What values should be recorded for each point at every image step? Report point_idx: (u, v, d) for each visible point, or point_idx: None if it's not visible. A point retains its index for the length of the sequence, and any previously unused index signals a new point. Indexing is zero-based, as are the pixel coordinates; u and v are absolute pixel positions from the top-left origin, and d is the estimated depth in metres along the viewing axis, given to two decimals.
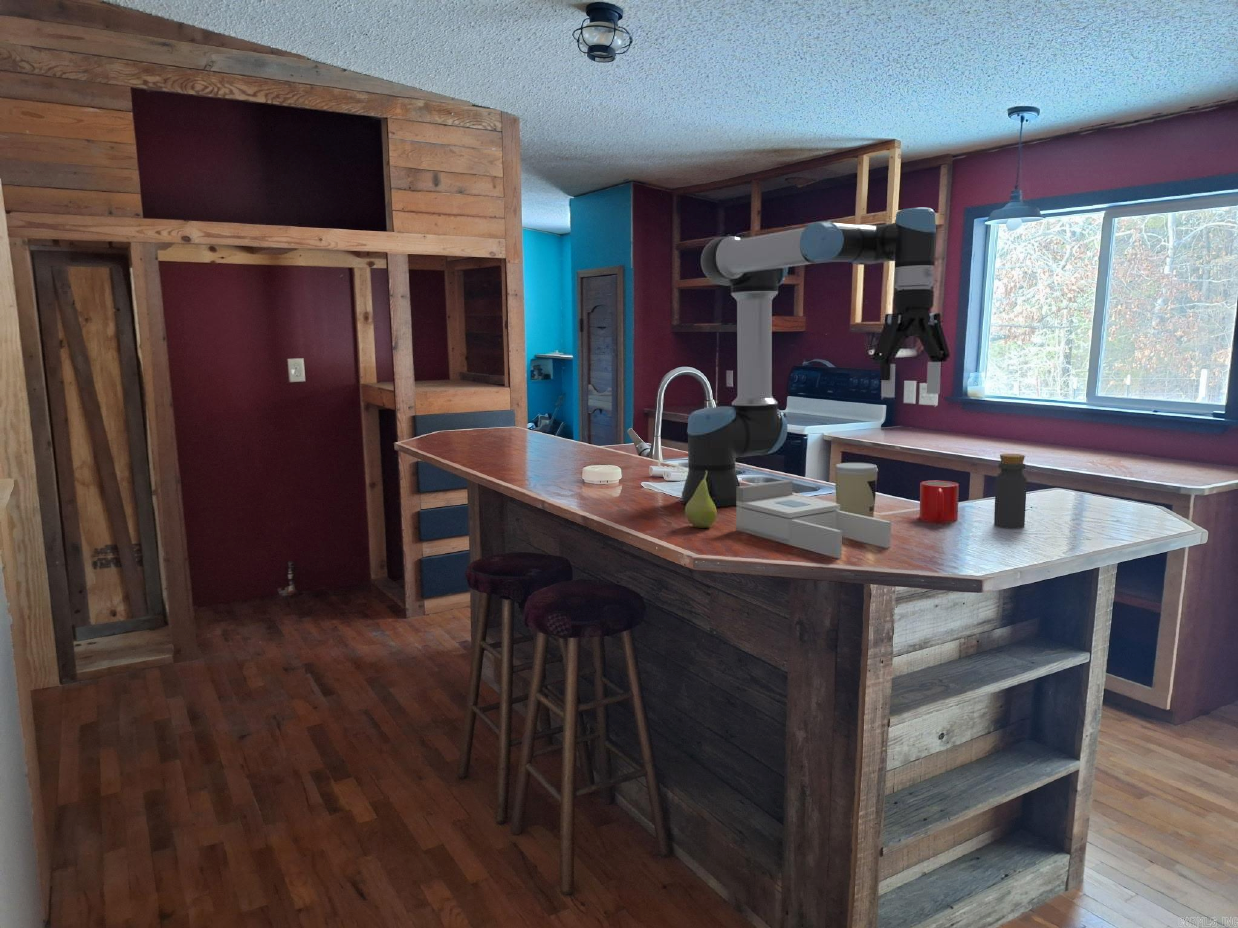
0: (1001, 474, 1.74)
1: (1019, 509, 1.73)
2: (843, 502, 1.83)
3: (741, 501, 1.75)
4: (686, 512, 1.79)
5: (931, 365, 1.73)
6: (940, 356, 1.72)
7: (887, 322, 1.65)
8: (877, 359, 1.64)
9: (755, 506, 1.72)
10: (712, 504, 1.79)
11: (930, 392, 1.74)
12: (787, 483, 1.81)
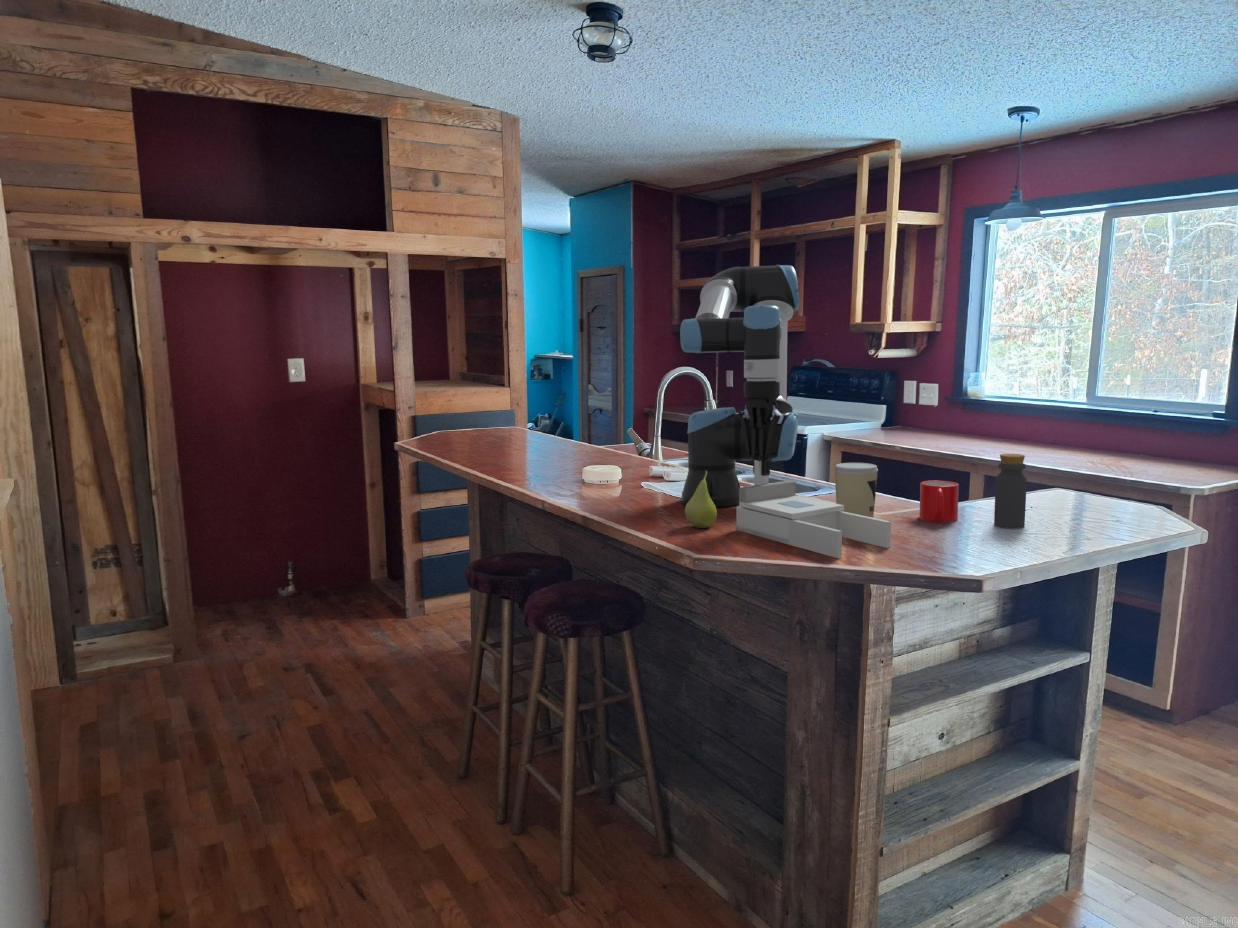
0: (1001, 474, 1.74)
1: (1019, 509, 1.73)
2: (843, 502, 1.83)
3: (744, 502, 1.74)
4: (686, 512, 1.79)
5: None
6: (760, 454, 1.77)
7: None
8: None
9: (758, 507, 1.71)
10: (712, 504, 1.79)
11: None
12: (790, 484, 1.80)
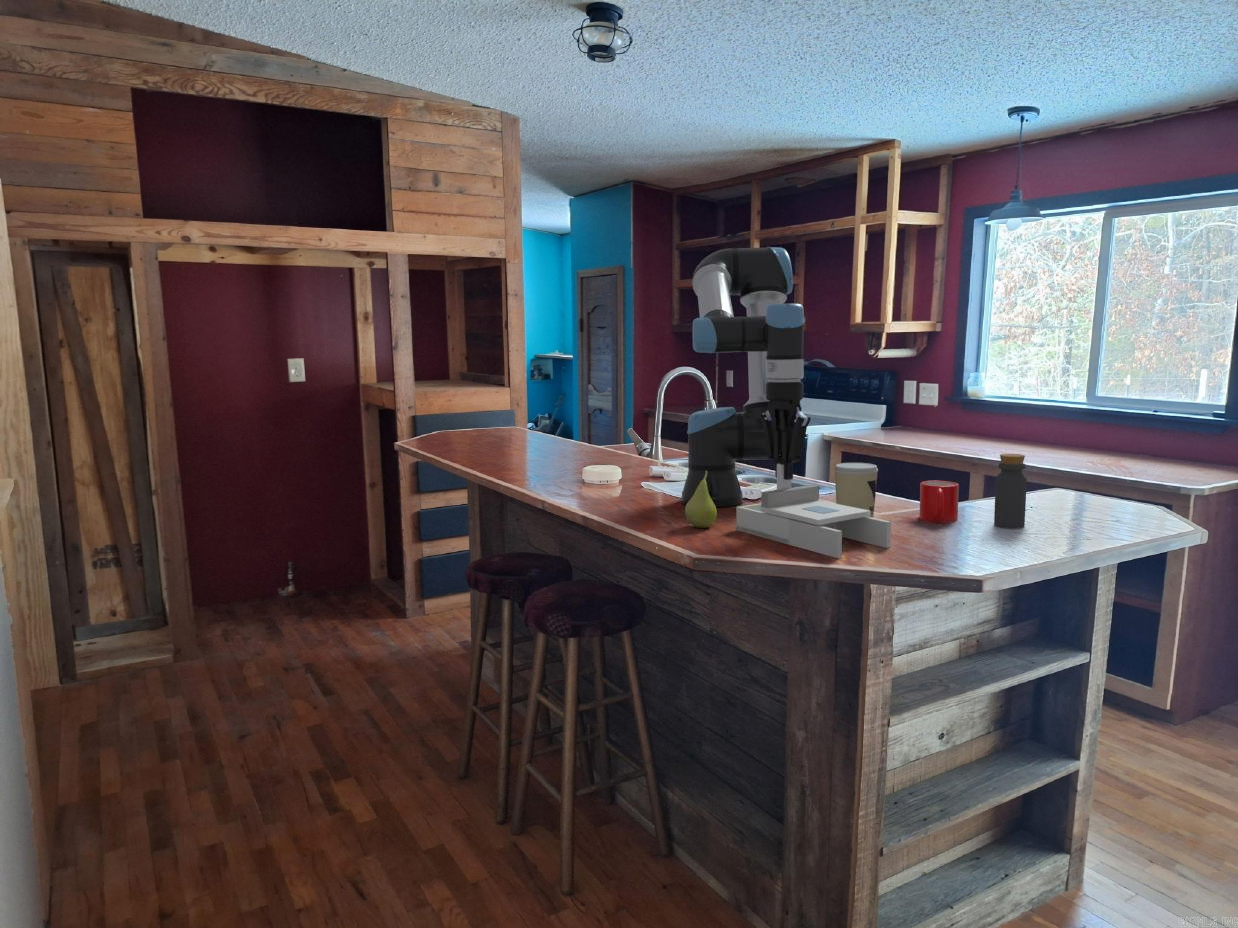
0: (1001, 474, 1.74)
1: (1019, 509, 1.73)
2: (843, 502, 1.83)
3: (766, 507, 1.69)
4: (686, 512, 1.79)
5: None
6: (783, 458, 1.71)
7: None
8: None
9: (782, 512, 1.65)
10: (712, 504, 1.79)
11: None
12: (813, 488, 1.74)
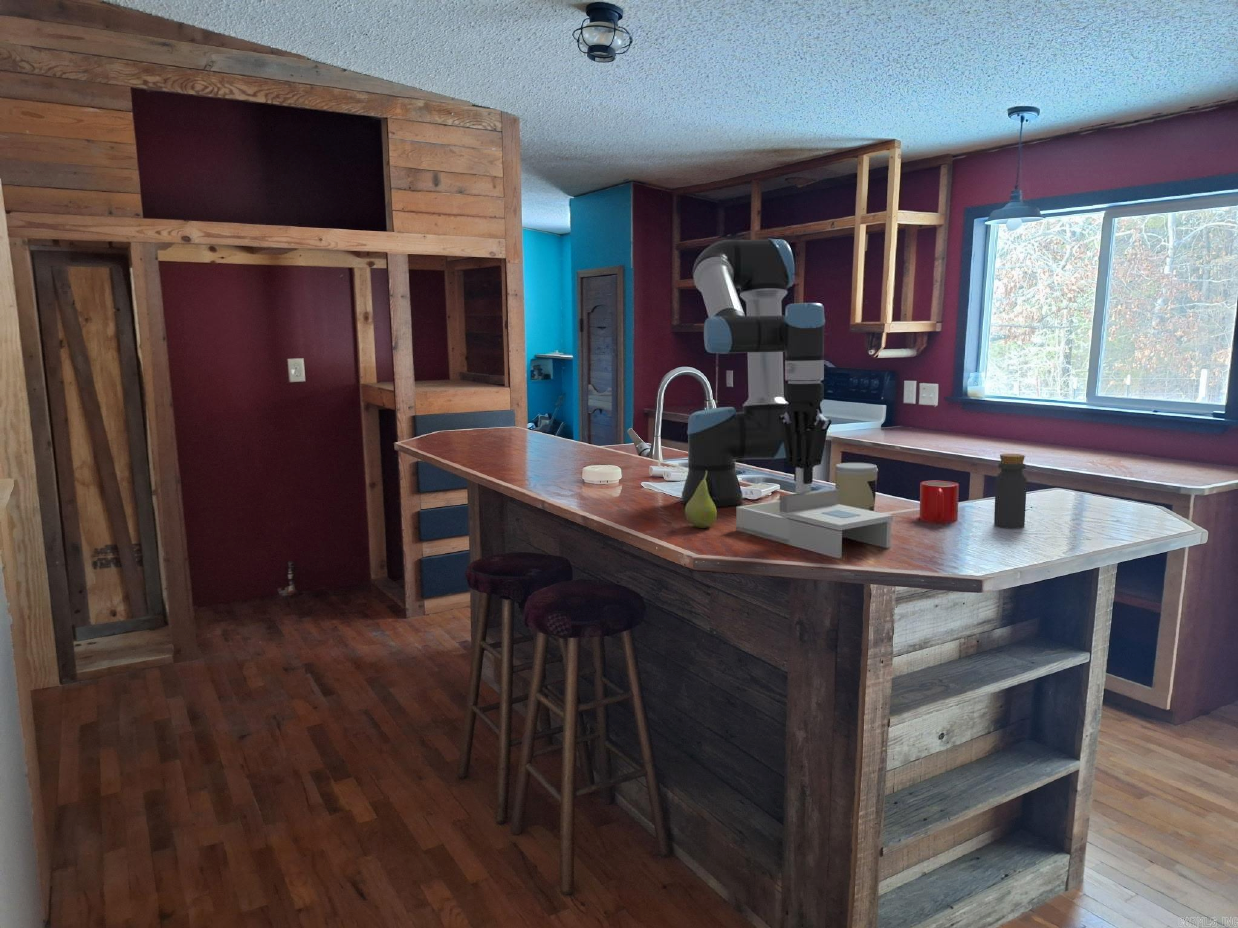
0: (1001, 474, 1.74)
1: (1019, 509, 1.73)
2: (843, 502, 1.83)
3: (785, 511, 1.64)
4: (686, 512, 1.79)
5: None
6: (803, 461, 1.67)
7: None
8: None
9: (801, 517, 1.60)
10: (712, 504, 1.79)
11: None
12: (833, 492, 1.70)
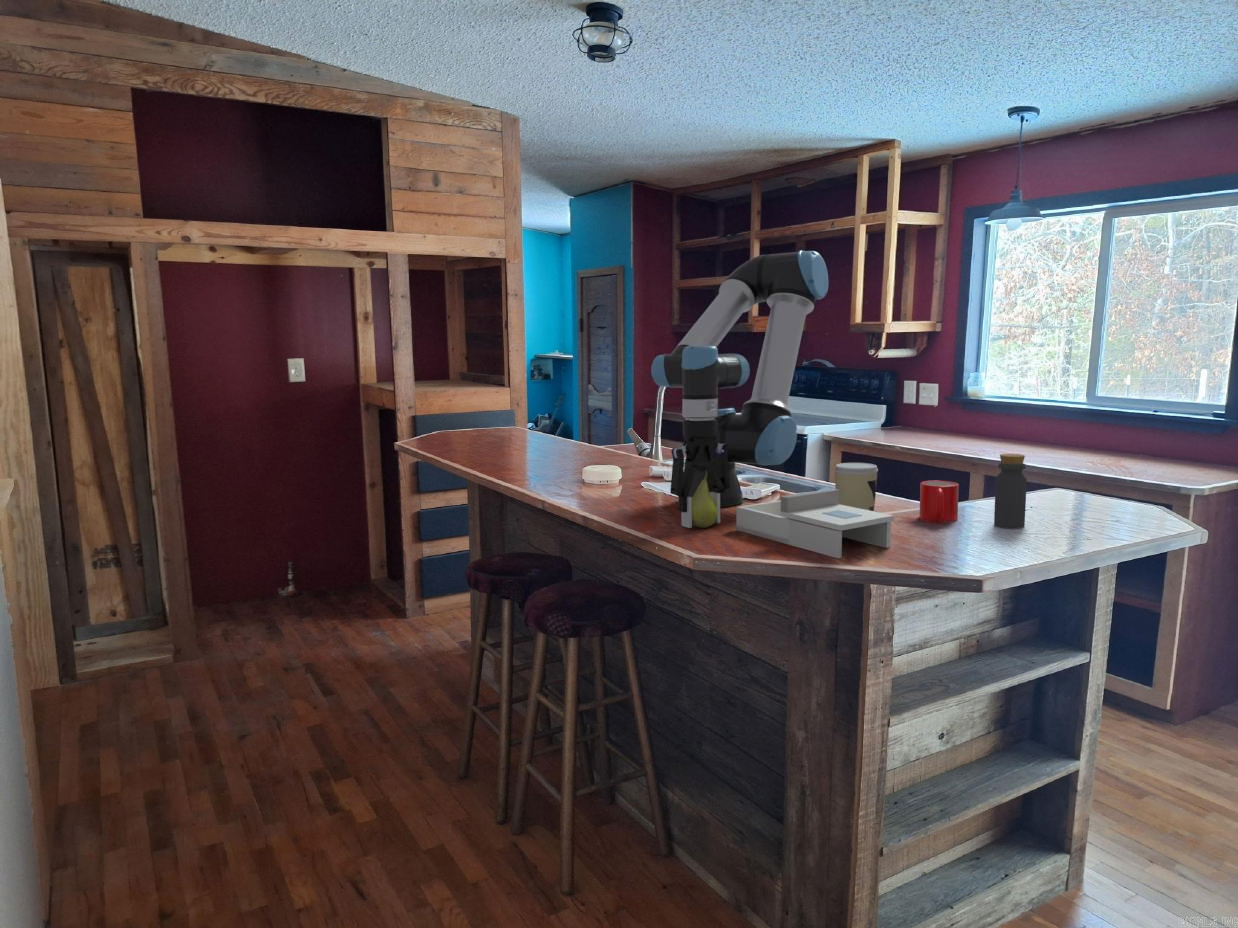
0: (1001, 474, 1.74)
1: (1019, 509, 1.73)
2: (843, 502, 1.83)
3: (786, 511, 1.64)
4: None
5: (712, 495, 1.83)
6: (720, 487, 1.81)
7: (675, 457, 1.76)
8: (674, 493, 1.77)
9: (802, 517, 1.60)
10: (713, 504, 1.79)
11: None
12: (834, 492, 1.69)
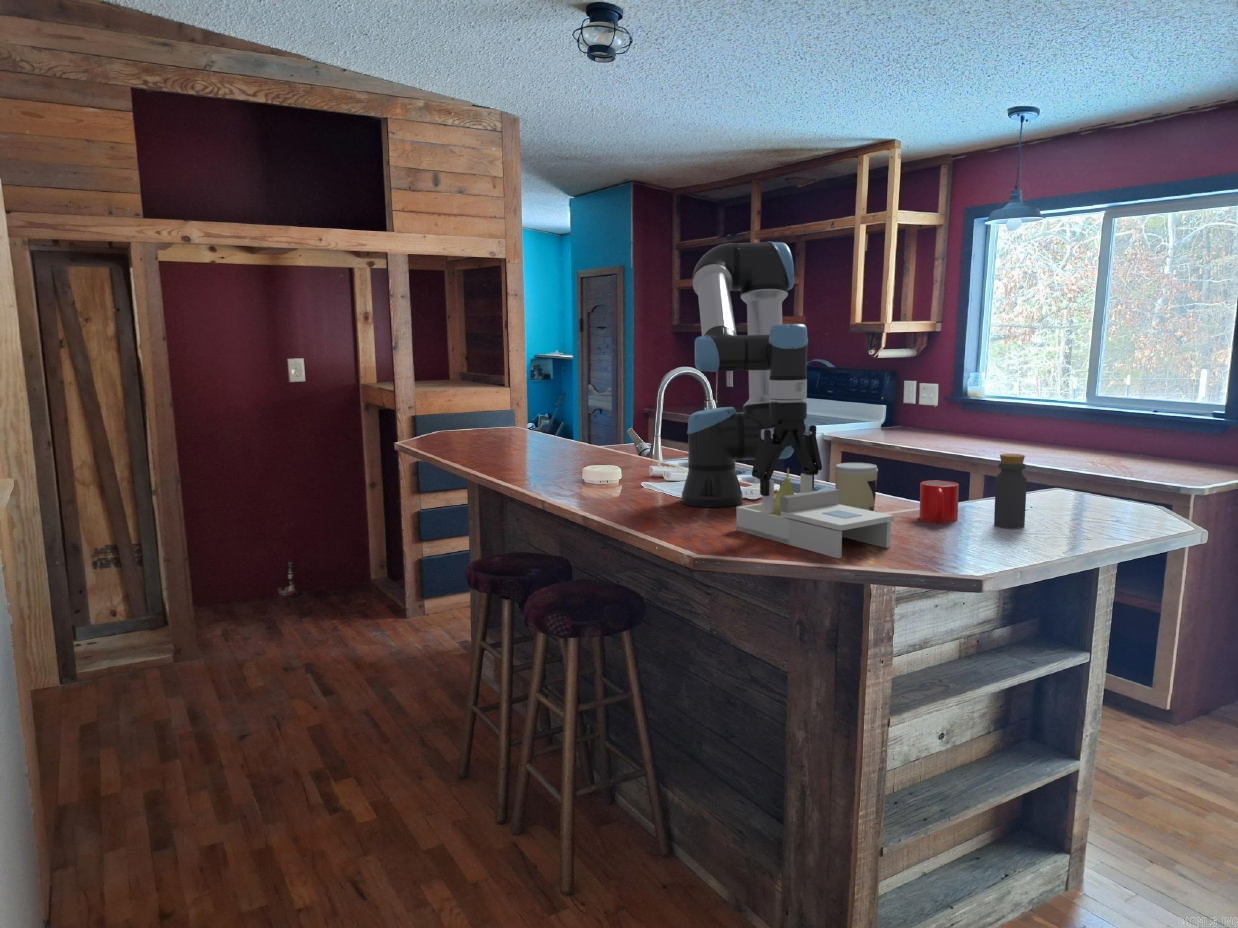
0: (1001, 474, 1.74)
1: (1019, 509, 1.73)
2: (843, 502, 1.83)
3: (786, 511, 1.64)
4: (771, 512, 1.72)
5: (803, 477, 1.76)
6: (812, 469, 1.74)
7: (761, 438, 1.69)
8: (756, 476, 1.68)
9: (802, 517, 1.60)
10: None
11: None
12: (834, 492, 1.69)
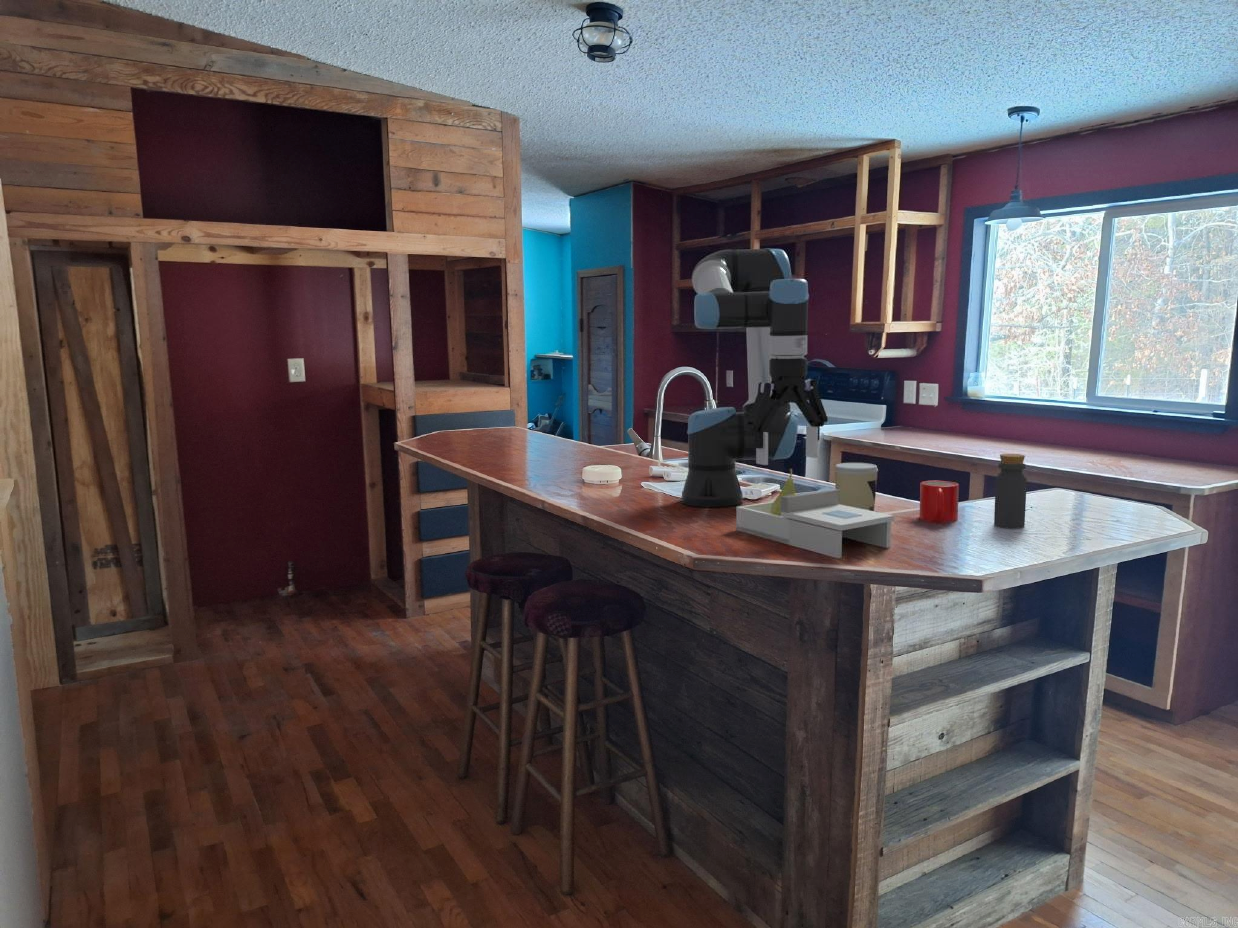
0: (1001, 474, 1.74)
1: (1019, 509, 1.73)
2: (843, 502, 1.83)
3: (786, 511, 1.64)
4: (773, 512, 1.72)
5: (809, 429, 1.75)
6: (817, 421, 1.74)
7: (761, 391, 1.67)
8: (749, 428, 1.66)
9: (802, 517, 1.60)
10: None
11: (808, 455, 1.76)
12: (834, 492, 1.69)
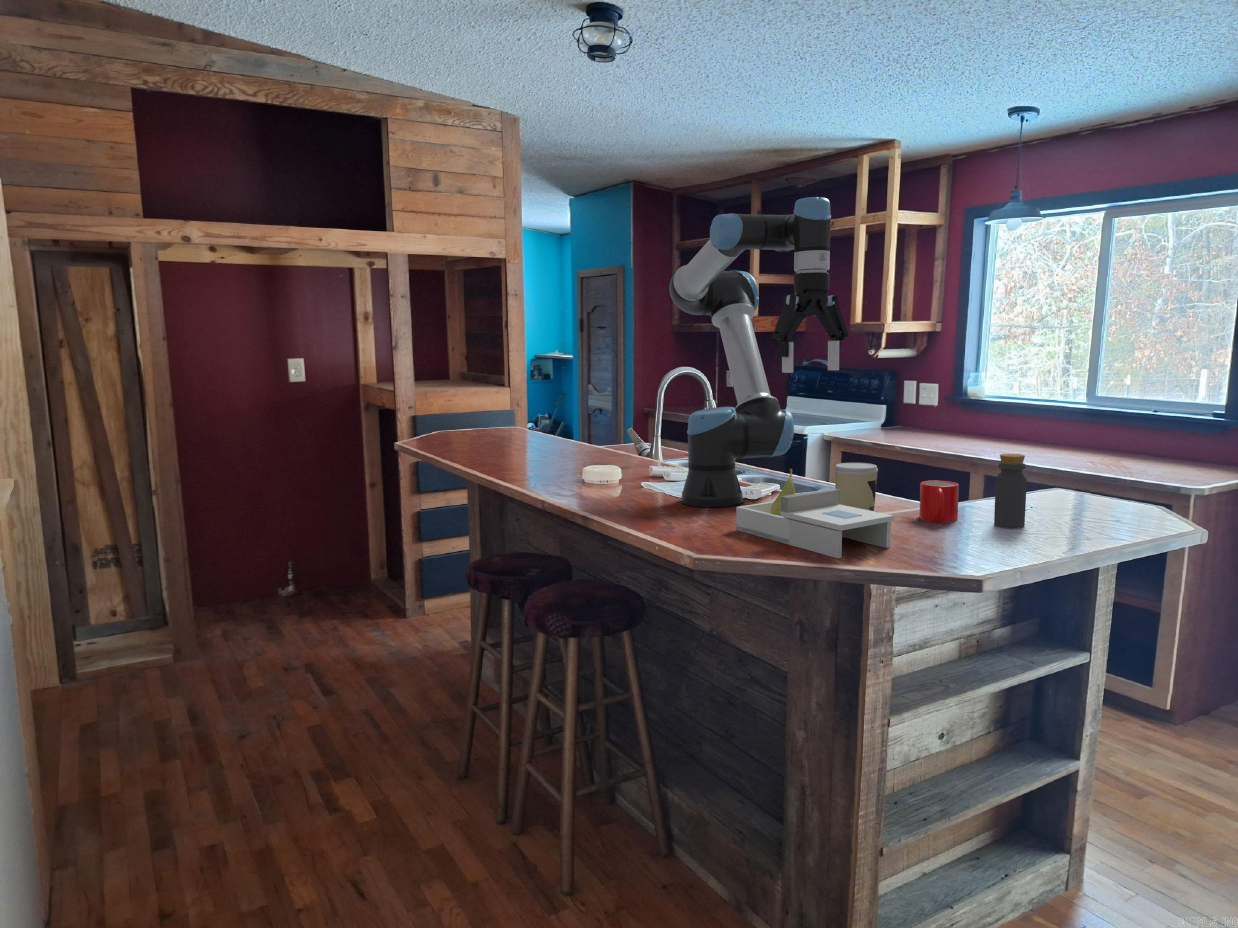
0: (1001, 474, 1.74)
1: (1019, 509, 1.73)
2: (843, 502, 1.83)
3: (786, 511, 1.64)
4: (773, 512, 1.72)
5: (831, 344, 1.86)
6: (838, 335, 1.85)
7: (786, 303, 1.78)
8: (776, 337, 1.77)
9: (802, 517, 1.60)
10: None
11: (830, 369, 1.87)
12: (834, 492, 1.69)
